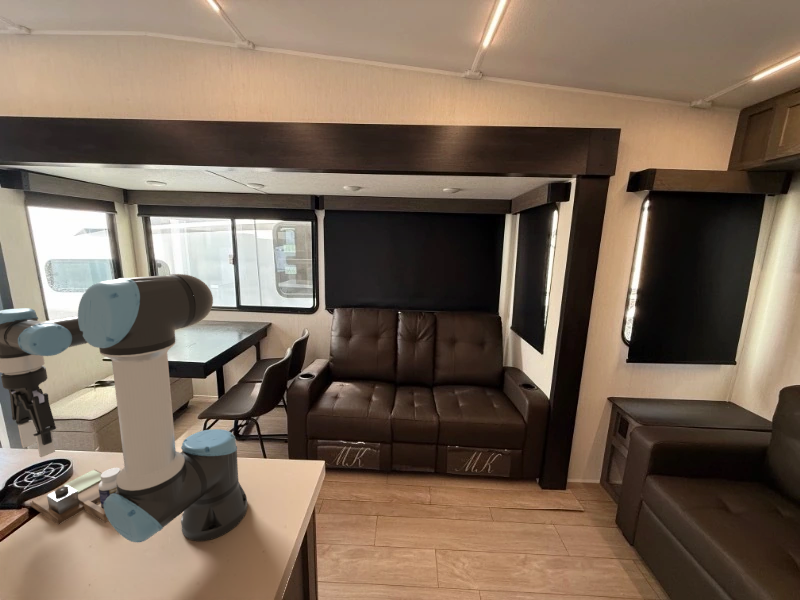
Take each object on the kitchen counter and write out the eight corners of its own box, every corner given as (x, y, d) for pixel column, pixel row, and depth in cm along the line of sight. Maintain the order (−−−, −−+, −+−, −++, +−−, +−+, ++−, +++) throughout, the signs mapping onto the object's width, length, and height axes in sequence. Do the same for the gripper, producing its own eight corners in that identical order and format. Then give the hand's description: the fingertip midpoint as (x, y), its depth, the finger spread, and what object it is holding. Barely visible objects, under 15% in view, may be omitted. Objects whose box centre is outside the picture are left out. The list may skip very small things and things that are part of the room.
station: (143, 497, 91) (142, 490, 91) (79, 538, 78) (78, 530, 78) (95, 472, 100) (94, 465, 99) (30, 506, 87) (29, 498, 87)
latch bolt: (79, 503, 87) (76, 487, 86) (59, 515, 83) (56, 498, 82) (69, 497, 89) (66, 481, 88) (49, 508, 85) (46, 491, 84)
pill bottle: (112, 513, 86) (107, 481, 84) (96, 509, 87) (91, 477, 85) (132, 498, 91) (128, 467, 89) (117, 494, 92) (112, 464, 90)
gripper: (65, 371, 82) (78, 452, 86) (24, 357, 90) (38, 432, 94) (22, 383, 75) (39, 469, 79) (-18, 367, 83) (-2, 446, 87)
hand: (38, 449), depth 87 cm, fingers open, 8 cm apart
